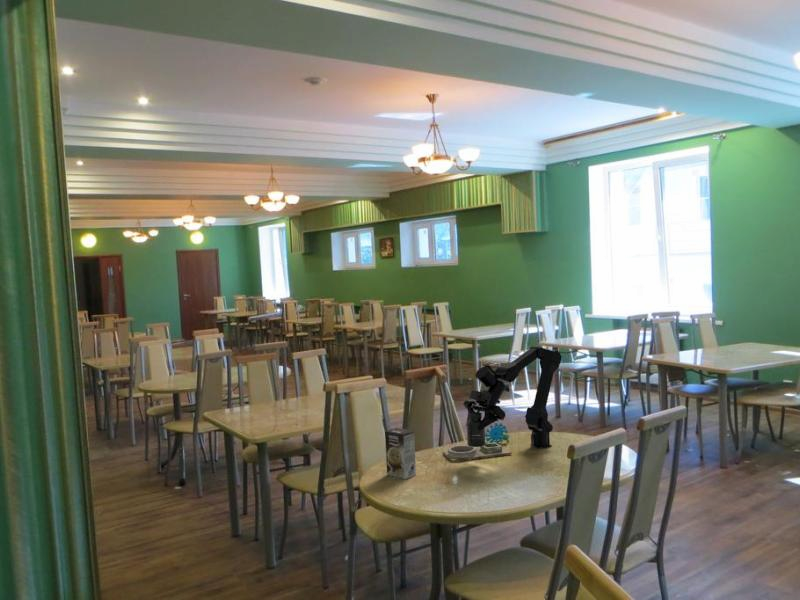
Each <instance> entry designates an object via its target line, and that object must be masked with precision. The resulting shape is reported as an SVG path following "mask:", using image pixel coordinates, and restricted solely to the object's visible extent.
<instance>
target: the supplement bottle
mask: <svg viewBox="0 0 800 600" xmlns="http://www.w3.org/2000/svg"><path fill="white" fill-rule="evenodd" d="M469 419H470V420H468V421H467V420H466V422H467V427H466V443H467V445H468V446H471V447H475V448H479V447H481V446H484V445H485V444H486V437H485V433H486V427H485V428H484V429H482V430H479V429H478V428H479V425H480V423H481V422H482V420H483V415H482V412H481V411H480V412H472V413H469Z"/></svg>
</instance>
